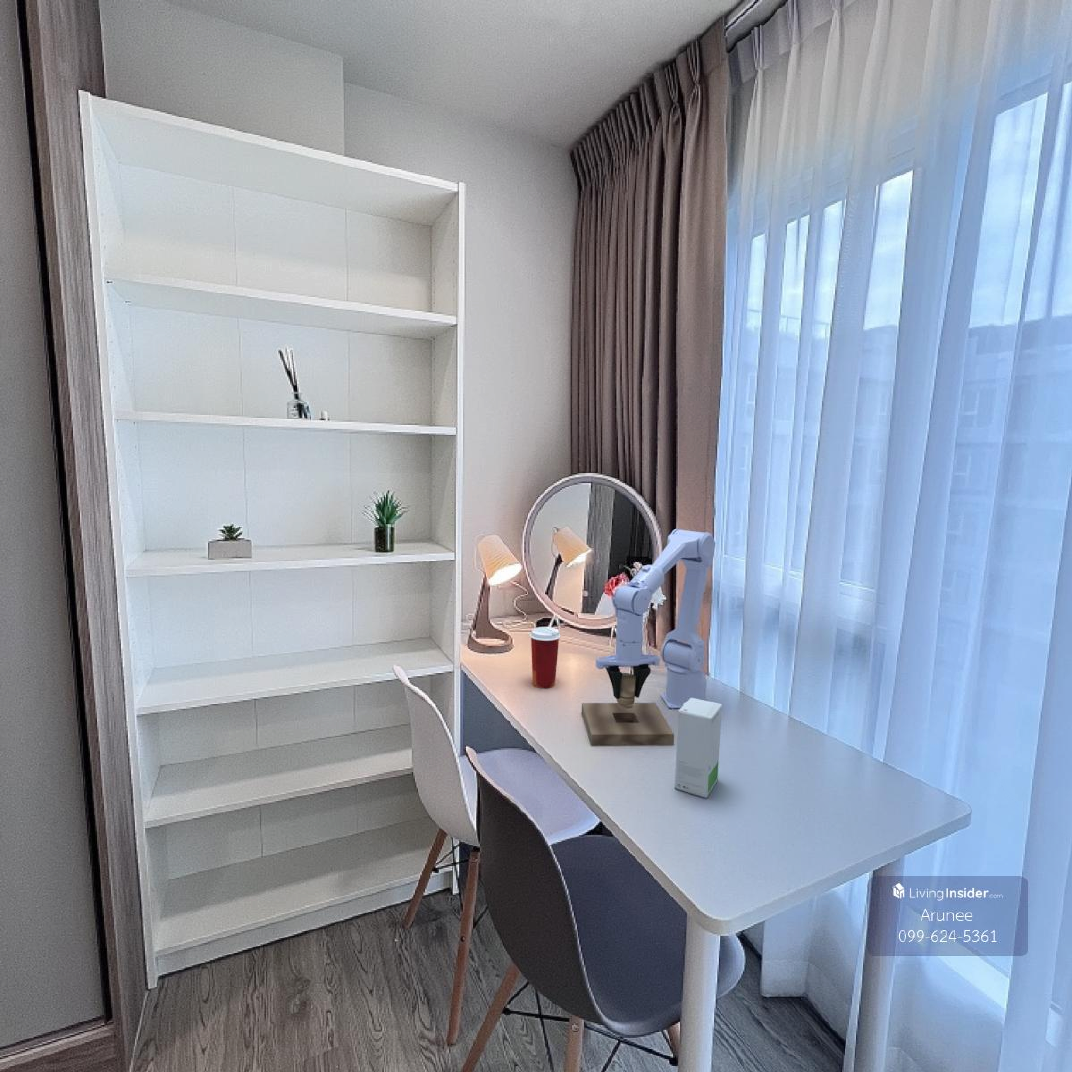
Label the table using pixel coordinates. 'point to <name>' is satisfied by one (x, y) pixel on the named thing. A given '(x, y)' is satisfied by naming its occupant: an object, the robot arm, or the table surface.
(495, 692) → the table surface
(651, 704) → the board
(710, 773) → the skincare box
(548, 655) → the coffee cup
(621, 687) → the peg
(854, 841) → the table surface
